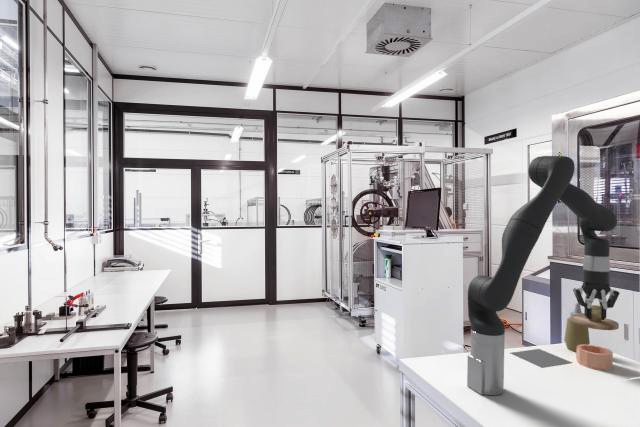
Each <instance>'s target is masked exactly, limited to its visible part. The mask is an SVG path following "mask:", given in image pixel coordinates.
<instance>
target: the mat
mask: <svg viewBox="0 0 640 427" xmlns="http://www.w3.org/2000/svg"><path fill="white" fill-rule="evenodd" d="M509 354H511V355H513V356H515V357H518V358H519V359H521V360H524V361H526V362H529V363H530V364H532V365H534V366H537V367H539V368H542V369H543V368H549V367H550V368H551V367H555V366H562V365H563V366H564V365H568V364H573V361H570V360H567V359H565V358H562V357H560V356H558V355H555V354H553V353H550V352H548V351H545V350H543V349H541V348H535V349H529V350H522V351H520V350H519V351H513V352H509Z"/></svg>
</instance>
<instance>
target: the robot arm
mask: <svg viewBox="0 0 640 427" xmlns="http://www.w3.org/2000/svg"><path fill="white" fill-rule="evenodd" d="M575 165H576V164H575V161H574V160H573V159H572V158H571V157H570V156H565V155H542V156H537V157H535V158H533V159H532V160H531V161H530V163H529V165H528V170H527V171H528V177H529V179H530V181H531V182H532V183H533V184H535V185H536V186H538V187H540V188H541V189H540V190H539V192H538V193H537V194H536V195H535V196H534V197H533V198H531V199H530V200H529V201H527V202H526V203H525V204H523V205H522V206H521V207H520V208H519V209H517V210H516V211H515V212H514V213H513V214H512V215H511V217H510V218H509V220H508V222H507V224H506V225H505V228H504V230H503V232H502V236H501V237H502V238H501V261H500V263H499V266H498V268H497V269H496V271H495V273H494V275H493V276H487V275H485V274H484V275H483V274H481V275H477V276H475V277H474V278H472V280H470V283H469V285H468V289H467V313H468V314H467V315H468V320H469V323H470V354H467V366H466V367H467V369H466V370H467V375H466V376H467V378H466V379H467V380H466V386H467V387H468V388H469V389H471V390H473V391H475V392H476V393H478V394H479V395H483V396H484V395H486V396H499V395H502V394H503V393H504V386H505V385H504V382H505V376H504V375H505V341H506V340H505V339H506V338H505V337H506V336H505V335H506V334H505V332H506V326H505V325H506V324H505V323H504V322H503V320H502V319H501V318H500V317H499V315H498V314H497V312H501V311H503V310H505V309H506V308H507V307H508V306H509V304H510V302H511V301H512V299H513V297H514V294H515V291H516V289H517V285H518V283H519V280H520V278H521V274H522V273H523V270H524V268H525V266H526V264H527V262H528V260H529V258H530V255H531V253H532V251H533V249H534V247H535V245H536V244H537V242H538V241H539V239H540V236H541V234H542V232H543V230H544V227H545V225H546V223H547V221H548V219H549V217H550V216H551V214H552V212H553V210H554V208H555V206H556V205H557V204H558V202H559V201H560V202H562V204H564V205H565V206H566V207H567V208H568V209H569V210H570V211H571V212H572V213H573V214H574V215H575V217H578V225H579V228H580V232H581V235H582V239H583V244H584V250H583V251H584V255H583V261H582V263H583V264H582V284H581V287H578V288H576V287H574V288H572V291H573V294H574V297H575V298H576V301H577V303H578V304H579V305H580V307H584V312H583V313H584V315H585V317H586V318H587V319H591V305H593V303H594V300H596V299H597V302H599V306H601V307H602V314H601V320H605V318H606V319H607V311H608V309H610V308H612V309H613V308H614V306H615V305H616V301H618V298H619V296H620V293H621V292H619V291H618V290H615V289H612V288H611V286H610V283H611V282H610V281H611V280H610V278H611V261H610V241H609V240H608V239H606V238H602V237H600V236H598V235H597V233H596V232H611V231H613V230H614V229H615V228H616V227H617V225H618V218H617V216H616V214H615V213H614V211H612V210H611V209H610V208H608V207H606V206H605V205H602V204H600V203H598V202H597V201H596V200H594V198H593V197H592V196H591V195H590V194H589V193H588V192H586V191H585V190H584V189H582V188H580V187H578V186H576V185H575V184H572V183H571V181H572V179H573V178H574V174H575V168H576V167H575ZM583 293H584V294H585V296H584V297H583ZM608 294H609V297H608V298H607V295H608Z"/></svg>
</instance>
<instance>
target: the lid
mask: <svg viewBox="0 0 640 427" xmlns="http://www.w3.org/2000/svg"><path fill="white" fill-rule="evenodd" d="M601 314H602V307H601V306H600V305H596V304H592V305H591V319H587V318H586V317H585V316H574V317H573V323H575V324H577V325H580V326H583V327H587V328H588V329H592V330H600V331H601V330H602V331H616V330H618V329H619V326H620V323H619V322H617V321H616V320H612V319H609V318H607V317H606V318H605V320H601Z"/></svg>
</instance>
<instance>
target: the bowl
mask: <svg viewBox="0 0 640 427" xmlns="http://www.w3.org/2000/svg"><path fill="white" fill-rule="evenodd" d="M575 353H576V359H575V360H576V362H577V363H578V365H580V366H582V367H585V368H588V369H593V370H597V371H610V370H612V369H613V362H614V360H613V358H614V356H613V355H614V352H613V351H612V350H611V349H609V348H606V347H603V346H600V345H595V344H589V345H587V344H582V345H578V346H577V351H576V352H575Z"/></svg>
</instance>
